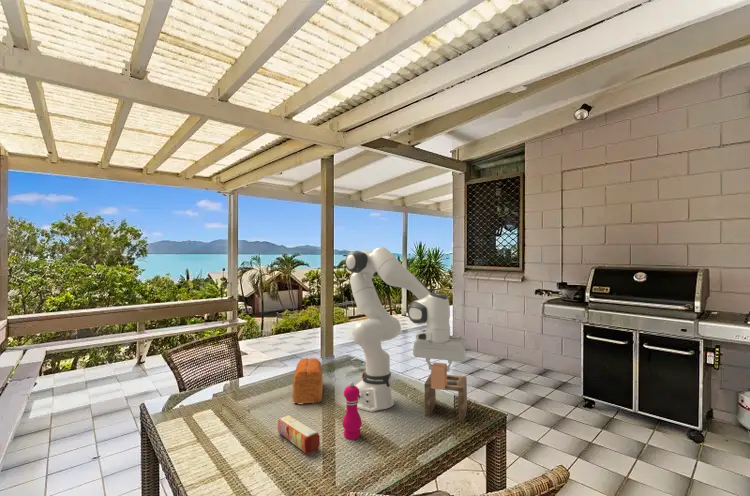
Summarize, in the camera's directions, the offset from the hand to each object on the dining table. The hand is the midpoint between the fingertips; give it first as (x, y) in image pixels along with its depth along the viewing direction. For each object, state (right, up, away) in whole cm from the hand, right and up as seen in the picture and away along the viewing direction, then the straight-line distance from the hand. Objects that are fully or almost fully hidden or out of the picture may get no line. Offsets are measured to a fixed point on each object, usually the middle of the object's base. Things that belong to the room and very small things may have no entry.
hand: (439, 370), depth 136 cm
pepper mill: (-34, -23, -4) cm, 41 cm away
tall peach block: (0, -6, 0) cm, 6 cm away
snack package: (-54, -24, -8) cm, 59 cm away
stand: (+6, -23, +14) cm, 28 cm away
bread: (-58, -25, +38) cm, 74 cm away
